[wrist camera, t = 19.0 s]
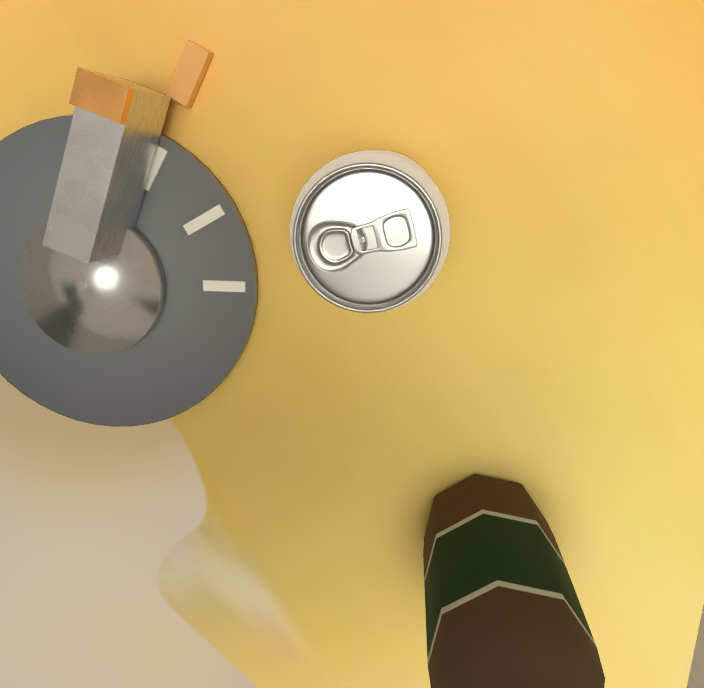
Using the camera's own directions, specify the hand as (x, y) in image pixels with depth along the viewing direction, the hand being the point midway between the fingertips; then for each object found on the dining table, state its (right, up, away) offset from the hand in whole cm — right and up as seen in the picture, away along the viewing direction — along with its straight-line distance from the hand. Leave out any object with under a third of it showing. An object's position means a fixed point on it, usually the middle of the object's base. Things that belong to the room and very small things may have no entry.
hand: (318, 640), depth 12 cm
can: (+2, +13, +24) cm, 27 cm away
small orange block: (-8, +20, +23) cm, 31 cm away
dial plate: (-14, +9, +26) cm, 31 cm away
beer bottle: (+9, -6, +29) cm, 31 cm away
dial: (-13, +12, +24) cm, 30 cm away
